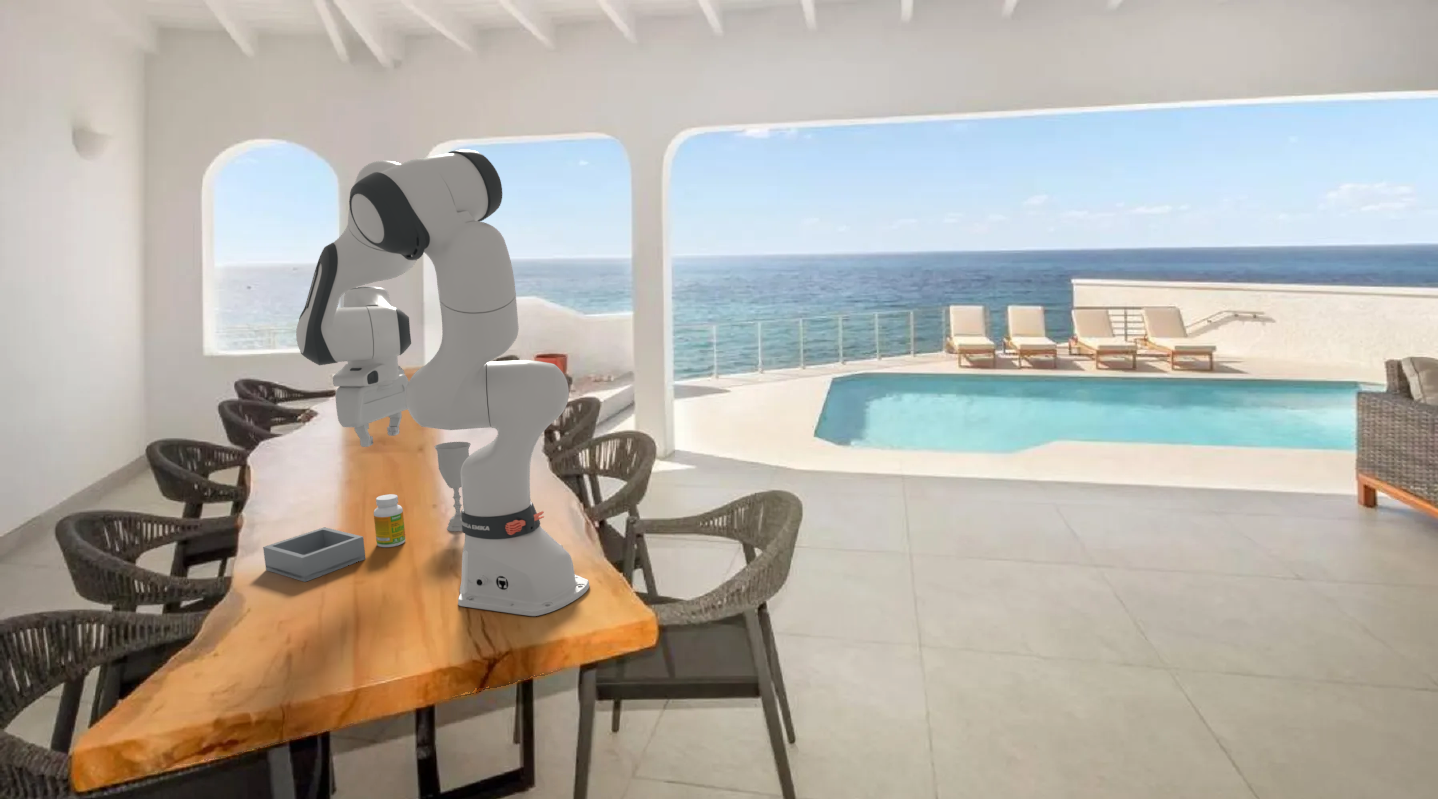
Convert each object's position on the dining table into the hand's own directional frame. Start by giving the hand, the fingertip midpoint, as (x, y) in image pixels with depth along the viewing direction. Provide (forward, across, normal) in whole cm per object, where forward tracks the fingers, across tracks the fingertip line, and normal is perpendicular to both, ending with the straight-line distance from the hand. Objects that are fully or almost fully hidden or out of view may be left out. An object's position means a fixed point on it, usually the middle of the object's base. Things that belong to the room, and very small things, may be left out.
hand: (380, 440), depth 148 cm
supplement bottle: (+22, 0, 0) cm, 22 cm away
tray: (+21, +12, -8) cm, 26 cm away
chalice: (+22, -10, +10) cm, 26 cm away
